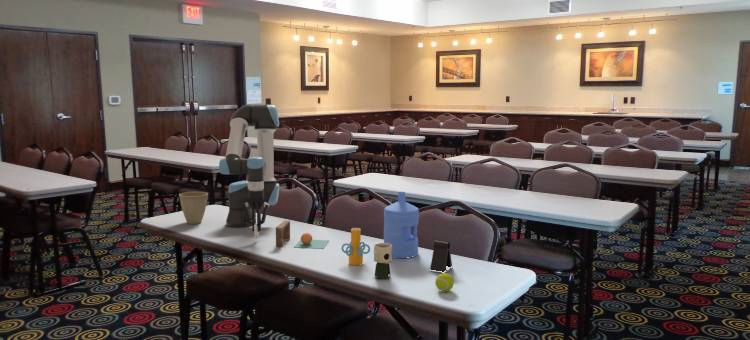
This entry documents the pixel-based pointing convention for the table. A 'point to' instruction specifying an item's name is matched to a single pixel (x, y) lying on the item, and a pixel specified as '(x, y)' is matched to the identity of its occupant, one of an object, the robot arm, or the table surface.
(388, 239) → the water jug
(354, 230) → the orange post with rings
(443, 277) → the tennis ball
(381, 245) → the character mug
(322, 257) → the table surface
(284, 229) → the bridge
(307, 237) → the ball
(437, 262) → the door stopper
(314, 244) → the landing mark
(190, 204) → the plant pot
